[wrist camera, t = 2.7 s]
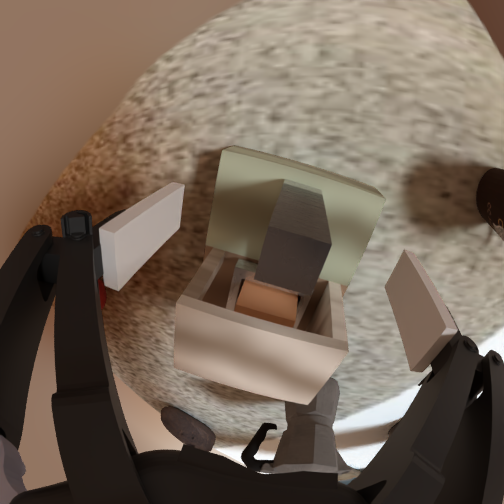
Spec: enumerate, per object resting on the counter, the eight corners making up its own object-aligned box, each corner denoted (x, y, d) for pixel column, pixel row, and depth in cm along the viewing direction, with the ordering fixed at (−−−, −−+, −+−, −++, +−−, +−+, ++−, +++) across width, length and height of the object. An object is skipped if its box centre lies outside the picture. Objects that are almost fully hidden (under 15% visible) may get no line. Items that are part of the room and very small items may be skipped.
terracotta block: (283, 323, 28) (278, 358, 24) (238, 309, 28) (225, 343, 24) (298, 286, 25) (295, 321, 21) (248, 271, 26) (235, 304, 21)
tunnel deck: (297, 358, 36) (287, 436, 25) (201, 330, 37) (167, 402, 26) (375, 187, 24) (424, 243, 13) (234, 145, 24) (176, 168, 13)
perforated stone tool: (160, 401, 52) (148, 425, 46) (173, 399, 49) (161, 424, 43) (205, 432, 56) (198, 454, 49) (220, 431, 53) (213, 454, 47)
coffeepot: (360, 375, 36) (364, 484, 20) (342, 405, 40) (339, 496, 24) (260, 365, 38) (233, 475, 22) (257, 396, 42) (234, 488, 27)
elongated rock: (347, 456, 56) (317, 461, 60) (345, 471, 51) (314, 475, 56) (383, 477, 63) (359, 482, 67) (382, 489, 58) (358, 493, 63)
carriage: (289, 335, 28) (278, 415, 20) (225, 317, 29) (195, 392, 20) (345, 197, 20) (372, 257, 12) (259, 171, 21) (223, 212, 12)
